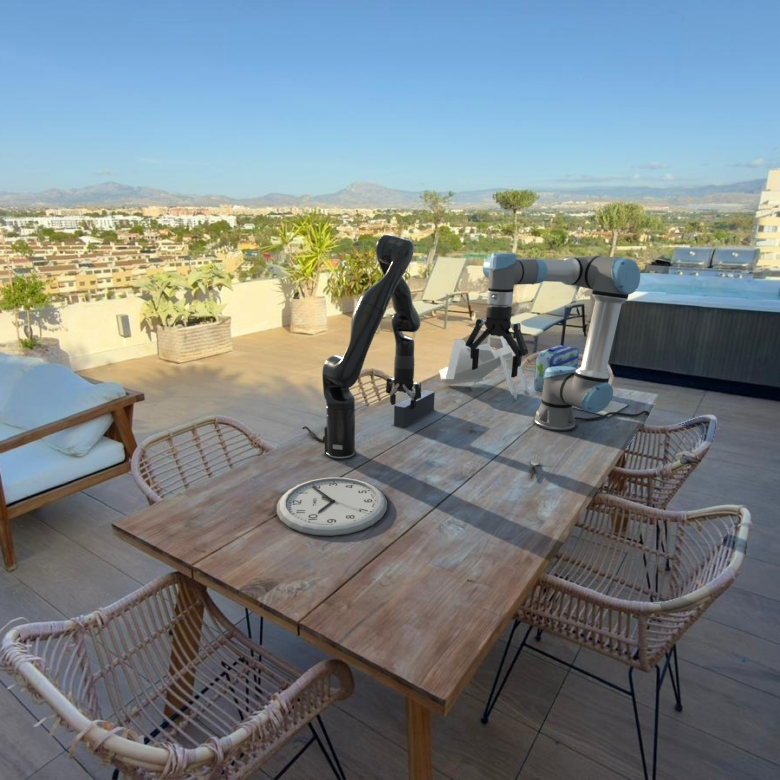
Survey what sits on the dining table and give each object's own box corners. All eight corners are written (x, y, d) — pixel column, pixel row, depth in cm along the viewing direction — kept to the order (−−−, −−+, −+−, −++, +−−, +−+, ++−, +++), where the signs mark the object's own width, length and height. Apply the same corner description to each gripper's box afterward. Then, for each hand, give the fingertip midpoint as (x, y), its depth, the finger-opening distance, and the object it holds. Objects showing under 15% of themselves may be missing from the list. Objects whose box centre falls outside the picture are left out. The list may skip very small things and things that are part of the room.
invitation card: (608, 416, 214) (573, 407, 224) (608, 416, 214) (573, 408, 224) (628, 404, 229) (594, 396, 238) (628, 405, 229) (594, 397, 238)
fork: (526, 479, 159) (527, 473, 159) (531, 458, 173) (532, 453, 173) (535, 480, 158) (536, 474, 158) (539, 460, 173) (540, 454, 172)
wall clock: (392, 527, 129) (268, 531, 127) (391, 533, 130) (269, 537, 127) (383, 473, 158) (282, 475, 155) (383, 478, 158) (282, 480, 156)
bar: (424, 408, 221) (425, 389, 218) (433, 410, 218) (434, 391, 216) (393, 425, 201) (394, 405, 199) (403, 427, 199) (404, 407, 196)
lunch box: (550, 398, 235) (555, 353, 229) (529, 393, 243) (534, 349, 236) (577, 387, 253) (583, 345, 247) (557, 382, 260) (562, 341, 254)
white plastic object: (461, 429, 252) (437, 405, 227) (444, 352, 274) (420, 323, 250) (535, 404, 240) (518, 377, 215) (510, 326, 262) (492, 293, 237)
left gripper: (382, 364, 196) (381, 405, 201) (415, 370, 189) (414, 413, 194) (393, 360, 202) (392, 400, 207) (425, 366, 195) (423, 407, 200)
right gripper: (457, 302, 163) (453, 368, 169) (533, 310, 149) (526, 382, 155) (469, 300, 169) (465, 363, 175) (543, 308, 155) (536, 377, 161)
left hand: (402, 406), depth 200 cm, fingers open, 8 cm apart
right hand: (494, 372), depth 165 cm, fingers open, 13 cm apart
